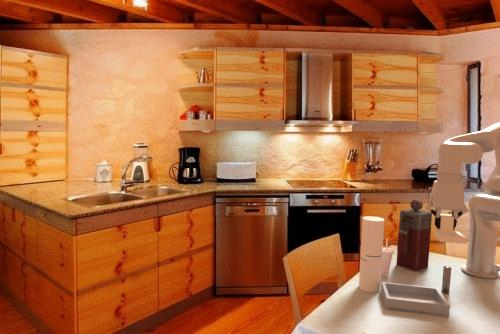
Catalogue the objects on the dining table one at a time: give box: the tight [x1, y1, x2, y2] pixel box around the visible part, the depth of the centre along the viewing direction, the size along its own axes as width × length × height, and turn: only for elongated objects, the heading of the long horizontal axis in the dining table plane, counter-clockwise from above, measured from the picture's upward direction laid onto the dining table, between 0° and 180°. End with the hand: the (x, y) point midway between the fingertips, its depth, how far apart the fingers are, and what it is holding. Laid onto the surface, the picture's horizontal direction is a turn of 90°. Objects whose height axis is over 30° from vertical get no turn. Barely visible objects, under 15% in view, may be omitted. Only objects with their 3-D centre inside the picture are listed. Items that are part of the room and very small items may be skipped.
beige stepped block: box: [433, 213, 468, 245], centre depth 128 cm, size 8×12×7 cm, turn 167°
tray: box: [380, 281, 451, 317], centre depth 119 cm, size 18×13×4 cm
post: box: [441, 265, 452, 295], centre depth 128 cm, size 2×2×9 cm
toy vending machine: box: [396, 198, 433, 273], centre depth 151 cm, size 9×11×28 cm
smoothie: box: [381, 238, 394, 276], centre depth 143 cm, size 6×6×14 cm
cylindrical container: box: [358, 215, 385, 293], centre depth 129 cm, size 7×7×25 cm
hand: (444, 228), depth 132 cm, fingers closed on beige stepped block, 4 cm apart
